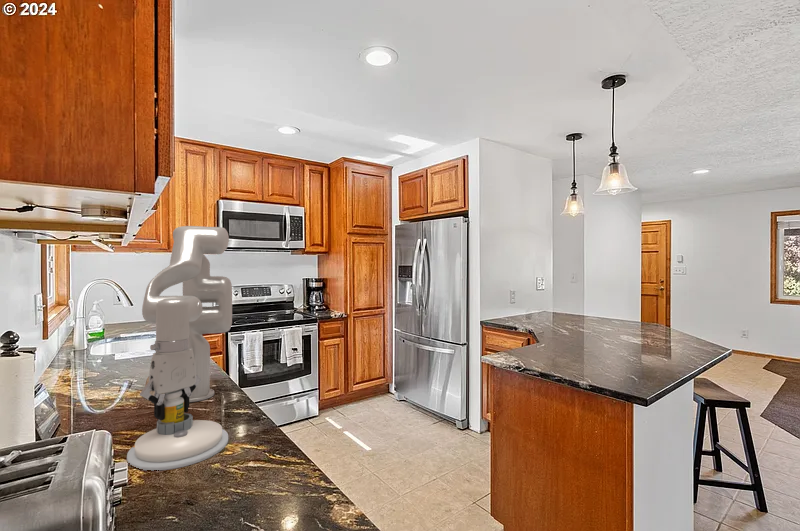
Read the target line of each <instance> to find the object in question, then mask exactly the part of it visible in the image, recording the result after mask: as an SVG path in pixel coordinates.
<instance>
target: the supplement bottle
mask: <svg viewBox="0 0 800 531" xmlns="http://www.w3.org/2000/svg"><path fill="white" fill-rule="evenodd" d="M180 396H181V390H177V391H173V392H170V393H166V394H165V396H164V399H163V402H162V404H164V405H165V419H164V420H160V422H161V423H164V424H173V423H178V422H182V421H184V413H185V412H184V399H183V398H182V397H180Z"/></svg>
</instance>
